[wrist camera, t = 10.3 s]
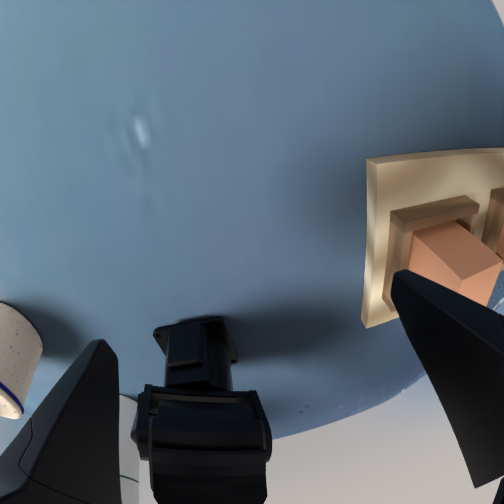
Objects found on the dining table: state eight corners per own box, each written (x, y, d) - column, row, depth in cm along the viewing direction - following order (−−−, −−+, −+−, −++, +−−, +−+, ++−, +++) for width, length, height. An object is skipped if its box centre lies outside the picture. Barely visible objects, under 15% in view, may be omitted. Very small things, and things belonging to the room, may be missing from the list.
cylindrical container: (91, 386, 28) (75, 572, 7) (145, 400, 30) (148, 586, 9) (92, 408, 31) (81, 564, 10) (139, 421, 33) (141, 576, 12)
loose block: (440, 263, 23) (484, 310, 17) (400, 277, 23) (443, 332, 17) (449, 216, 20) (503, 260, 14) (406, 228, 20) (462, 280, 14)
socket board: (502, 260, 27) (539, 297, 20) (360, 318, 27) (396, 384, 20) (525, 147, 19) (578, 176, 11) (365, 158, 18) (446, 206, 11)
